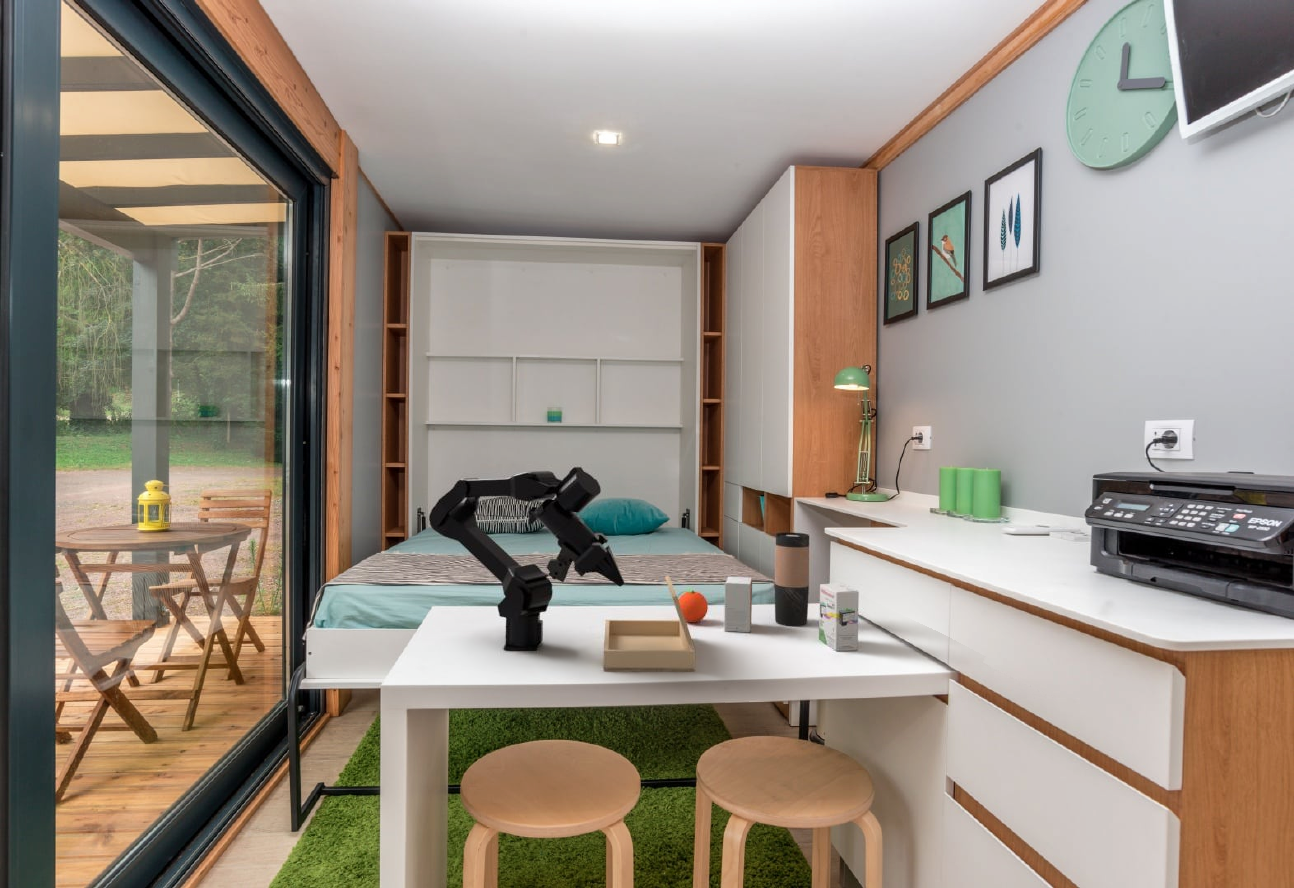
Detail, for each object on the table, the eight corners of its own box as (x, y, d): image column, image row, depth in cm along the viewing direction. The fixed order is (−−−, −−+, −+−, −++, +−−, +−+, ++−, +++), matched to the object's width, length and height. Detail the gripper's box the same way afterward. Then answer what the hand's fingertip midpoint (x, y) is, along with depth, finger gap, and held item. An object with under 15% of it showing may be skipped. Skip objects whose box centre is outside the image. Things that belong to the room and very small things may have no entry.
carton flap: (689, 645, 124) (672, 597, 124) (679, 618, 144) (664, 576, 144) (693, 643, 124) (676, 595, 124) (682, 616, 144) (668, 575, 144)
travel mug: (812, 621, 160) (814, 534, 160) (801, 628, 154) (803, 537, 154) (781, 616, 164) (782, 531, 164) (768, 623, 158) (770, 534, 158)
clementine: (666, 621, 158) (667, 589, 158) (685, 615, 163) (685, 585, 163) (695, 627, 153) (696, 595, 153) (713, 621, 158) (714, 590, 158)
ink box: (817, 639, 145) (818, 582, 145) (840, 638, 146) (841, 582, 146) (835, 651, 137) (836, 591, 137) (859, 650, 137) (860, 590, 138)
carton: (603, 670, 122) (603, 650, 122) (605, 636, 144) (605, 619, 144) (694, 671, 123) (694, 651, 123) (682, 637, 145) (682, 620, 145)
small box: (750, 633, 149) (750, 583, 149) (723, 631, 150) (724, 582, 150) (751, 624, 157) (752, 577, 157) (726, 622, 158) (727, 575, 158)
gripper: (540, 548, 142) (593, 603, 142) (528, 563, 123) (589, 626, 123) (580, 509, 142) (633, 565, 142) (574, 519, 123) (635, 582, 124)
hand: (622, 584), depth 133 cm, fingers closed
